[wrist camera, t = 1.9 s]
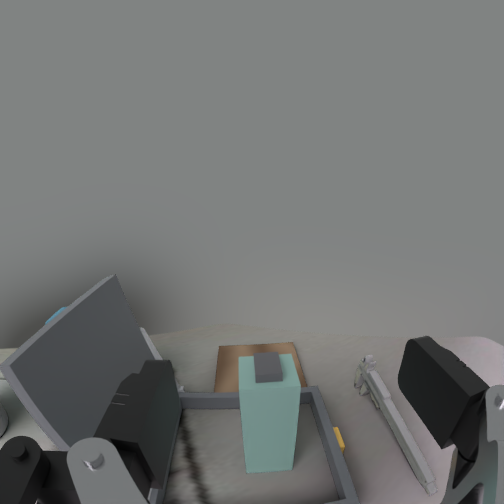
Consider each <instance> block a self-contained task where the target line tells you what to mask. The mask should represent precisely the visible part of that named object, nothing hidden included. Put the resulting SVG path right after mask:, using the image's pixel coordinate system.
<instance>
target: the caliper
mask: <svg viewBox="0 0 504 504" xmlns="http://www.w3.org/2000/svg"><path fill="white" fill-rule="evenodd" d="M375 364H376V361H374V362H372V355H368V356H365V358H364V359H361V361H360V364H359V366H358V368H357V373H356V378H355V383H354V386H355V388H358V387H361V386H362V384H363V386H362V388H361V390H360V393H359V394H360V396H362V395H366V394H368V393H369V392H370V395H371V398H372V401H373V402H374V404H375V406H376V409H377V410H378V409H381V411H382V412H383V414H384V416H385V418H386V420H387V422H388V424H389V425H390V427H391V429H392V431H393V433H394V435H395V437H396V438H397V440H398V442H399V444H400V446H401V448H402V450H403V452H404V454H405V456H406V458H407V460H408V462H409V464H410V466H411V468H412V470H413V472H414V474H415V476H416V478H417V479H418V481H419V482H420V484H421V485H422V487H423V488H425V490H426V492H427V494H428V495H429V496H430V495H432V494H434V493H436V492H437V487H436V485H435V483H434V481H435V480H436V479H435V477H434V475H433V473H432V471H431V469H430V467H429V465H428V464H427V462H426V460H425V458H424V456H423V454H422V452H421V451H420V449H419V447H418V445H417V443H416V442H415V440H414V438H413V436H412V435H411V433H410V431H409V429H408V427H407V426H406V424H405V422H404V421H403V419H402V417H401V415H400V414H399V412H398V410H397V408H396V407H395V405H394V403H393V402H392V400H391V394H390V392H389V391H388V389H387V387H386V386H385V384H384V382H383V381H382V379H381V377H380V376H379V374H378V372H377V371H376V370H374V366H375ZM364 380H365V382H364ZM363 382H364V383H363Z"/></svg>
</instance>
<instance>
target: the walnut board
mask: <svg viewBox="0 0 504 504" xmlns="http://www.w3.org/2000/svg"><path fill="white" fill-rule="evenodd" d="M266 352H278V354H279V355H280V354H292V358H293V361H294V364H295V368H296V371H297V374H298V378H299V381H300V384H301V388H302V387H307V384H306V381H305V378H304V375H303V372H302V369H301V366H300V363H299V360H298V357H297V354H296V351H295V348H294V345H293V342H288V343H275V344H258V345H236V346H219V352H218V361H217V370H216V379H215V388H214V393H221V392H239V357H246V356H254V354H253V353H266Z"/></svg>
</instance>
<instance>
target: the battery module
mask: <svg viewBox="0 0 504 504" xmlns="http://www.w3.org/2000/svg"><path fill="white" fill-rule="evenodd" d="M253 354H254V356H246V357H239V399H240V411H241V422H242V433H243V444H244V454H245V464H246V473H262V472H275V471H286V470H292V468H293V460H294V451H295V443H296V434H297V424H298V414H299V403H300V391H301V384H300V381H299V378H298V374H297V371H296V368H295V364H294V361H293V358H292V354H280V355H279V354H278V352H266V353H253Z"/></svg>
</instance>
